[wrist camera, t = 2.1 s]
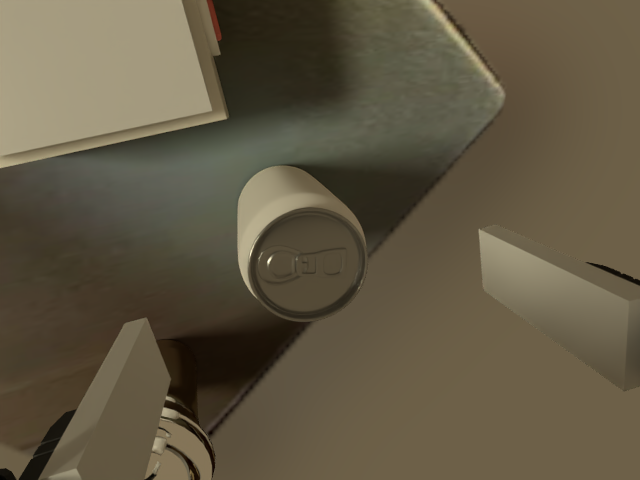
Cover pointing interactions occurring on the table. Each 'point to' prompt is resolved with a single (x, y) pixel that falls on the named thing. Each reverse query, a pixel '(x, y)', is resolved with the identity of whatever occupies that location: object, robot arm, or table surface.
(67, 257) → the table surface
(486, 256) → the robot arm
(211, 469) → the cup with straw
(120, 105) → the scale
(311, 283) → the can
